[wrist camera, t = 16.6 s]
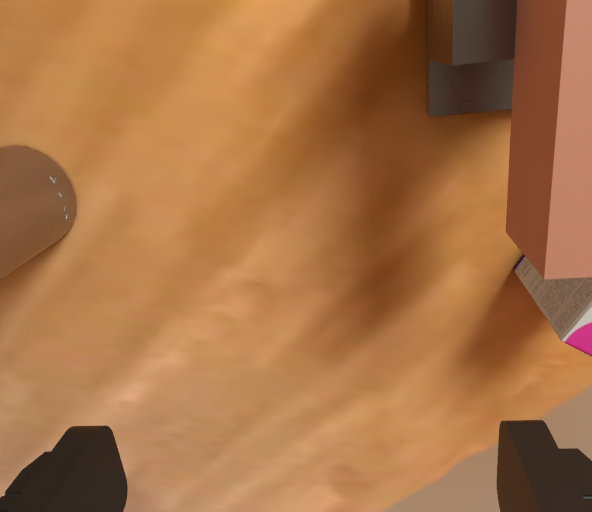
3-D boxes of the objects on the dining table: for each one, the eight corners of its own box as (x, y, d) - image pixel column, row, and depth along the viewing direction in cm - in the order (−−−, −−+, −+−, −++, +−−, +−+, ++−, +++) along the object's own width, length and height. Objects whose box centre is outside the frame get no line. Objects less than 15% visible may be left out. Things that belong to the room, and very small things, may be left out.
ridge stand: (427, 114, 40) (452, 138, 30) (425, -64, 36) (453, -105, 26) (563, 101, 39) (636, 122, 29) (578, -85, 35) (671, -137, 25)
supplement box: (509, 270, 45) (558, 341, 34) (553, 212, 42) (620, 269, 32) (566, 300, 45) (632, 379, 35) (612, 244, 43) (698, 310, 32)
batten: (505, 231, 32) (544, 279, 26) (530, -274, 23) (598, -394, 17) (565, 228, 32) (620, 275, 25) (614, -289, 23) (717, -419, 16)
